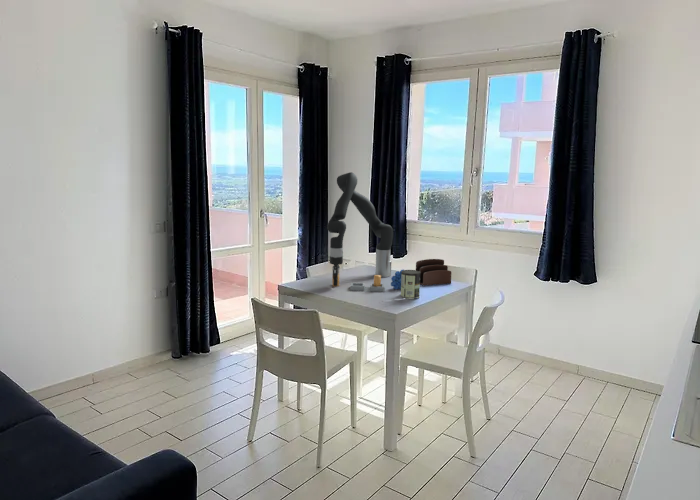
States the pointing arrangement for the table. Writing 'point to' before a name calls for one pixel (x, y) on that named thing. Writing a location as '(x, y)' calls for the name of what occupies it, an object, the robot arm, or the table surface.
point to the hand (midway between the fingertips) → (335, 284)
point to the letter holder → (433, 272)
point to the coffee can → (410, 284)
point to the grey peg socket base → (362, 287)
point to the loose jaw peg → (333, 280)
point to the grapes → (396, 280)
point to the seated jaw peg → (377, 280)
